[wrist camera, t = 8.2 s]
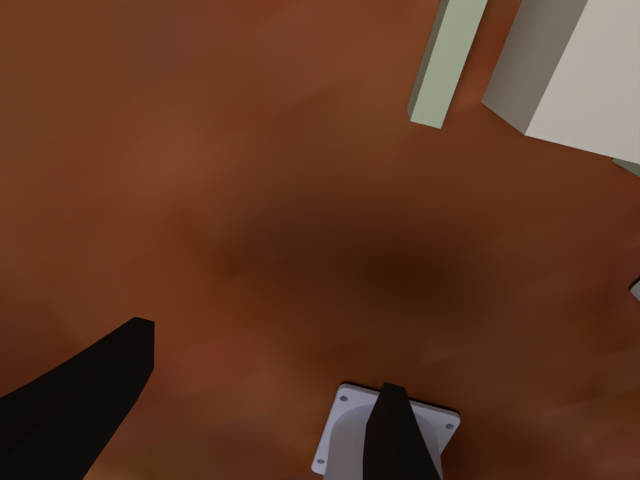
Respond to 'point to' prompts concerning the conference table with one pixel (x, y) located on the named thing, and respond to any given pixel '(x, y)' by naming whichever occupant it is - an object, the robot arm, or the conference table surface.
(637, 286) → the string lights box
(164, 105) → the conference table surface
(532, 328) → the conference table surface
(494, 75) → the stepped cream block
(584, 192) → the conference table surface
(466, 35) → the pale green slab
